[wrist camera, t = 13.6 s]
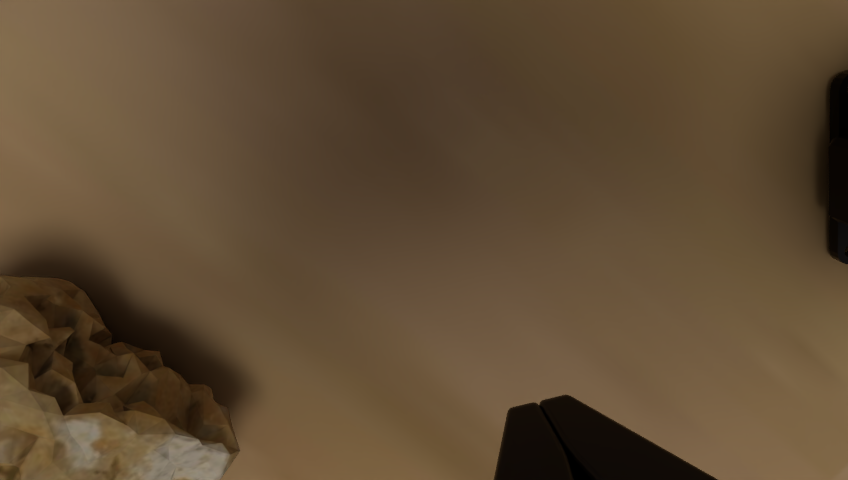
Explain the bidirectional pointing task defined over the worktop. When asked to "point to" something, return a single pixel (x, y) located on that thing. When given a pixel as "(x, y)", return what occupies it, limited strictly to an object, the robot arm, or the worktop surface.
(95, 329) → the rock
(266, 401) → the worktop surface
